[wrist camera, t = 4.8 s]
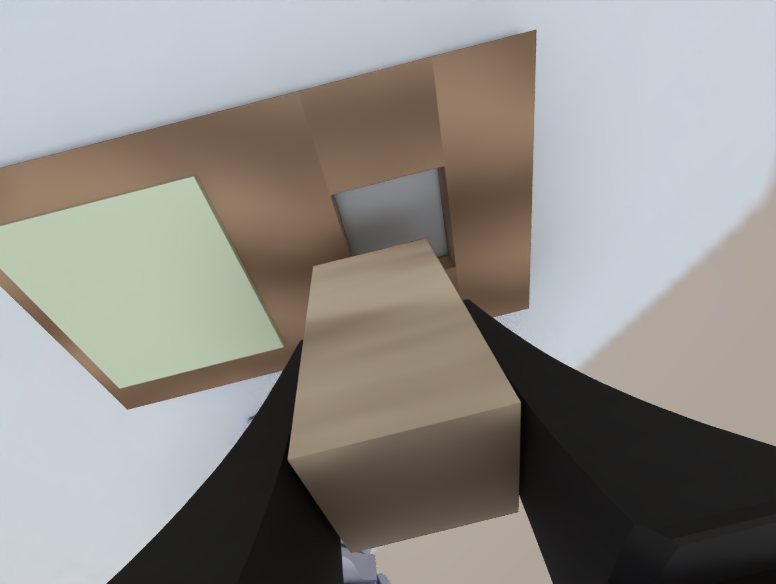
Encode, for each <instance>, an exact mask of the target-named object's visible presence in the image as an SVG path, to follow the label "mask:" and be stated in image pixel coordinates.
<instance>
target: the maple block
mask: <svg viewBox="0 0 776 584" xmlns="http://www.w3.org/2000/svg"><path fill="white" fill-rule="evenodd" d="M520 418H521V402H520V400H519V398H518V397H517V395H516V393H515V391H514V390H513V388H512V386H511V384H510V383H509V381H508V379H507V378H506V376H505V374H504V372H503V371H502V369H501V367H500V365H499V364H498V362H497V360H496V358H495V357H494V355H493V353H492V352H491V350H490V348H489V346H488V345H487V343H486V341H485V339H484V338H483V336H482V334H481V333H480V331H479V329H478V327H477V326H476V324H475V322H474V320H473V319H472V317H471V315H470V313H469V312H468V310H467V308H466V307H465V305H464V303H463V301H462V300H461V298H460V296H459V294H458V293H457V291H456V289H455V287H454V286H453V284H452V282H451V281H450V279H449V277H448V275H447V274H446V272H445V270H444V268H443V267H442V265H441V263H440V261H439V260H438V258H437V256H436V255H435V253H434V251H433V249H432V248H431V246H430V244H429V242H428V241H427V239H426V238H425V239H421V240H417V241H413V242H409V243H405V244H401V245H397V246H393V247H389V248H385V249H381V250H377V251H373V252H369V253H365V254H361V255H357V256H353V257H349V258H344V259H340V260H336V261H332V262H328V263H324V264H320V265H316V266H313V272H312V279H311V287H310V294H309V302H308V309H307V317H306V325H305V332H304V340H303V347H302V355H301V362H300V370H299V378H298V385H297V393H296V400H295V408H294V416H293V423H292V431H291V438H290V446H289V453H288V461H289V463H290V464H291V466H292V467H293V469H294V470H295V471H296V473H297V474H298V476H299V477H300V479H301V480H302V482H303V483H304V485H305V486H306V488H307V489H308V491H309V492H310V494H311V495H312V497H313V498H314V500H315V501H316V503H317V504H318V505H319V507H320V508H321V510H322V511H323V513H324V514H325V516H326V517H327V519H328V520H329V522H330V523H331V525H332V526H333V528H334V529H335V531H336V532H337V534H338V535H339V537H340V538H341V539H342V541H343V542H344V544H345V545H346V547H347V548H348V550H349V551H350V553H354V552H358V551H362V550H366V549H370V548H375V547H379V546H383V545H387V544H390V543H395V542H399V541H403V540H406V539H411V538H415V537H419V536H423V535H427V534H431V533H435V532H439V531H444V530H448V529H452V528H456V527H459V526H464V525H468V524H472V523H476V522H480V521H484V520H488V519H492V518H496V517H500V516H505V515H508V514H512V513H517V512H518V507H519V463H520Z"/></svg>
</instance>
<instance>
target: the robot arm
mask: <svg viewBox="0 0 776 584" xmlns="http://www.w3.org/2000/svg"><path fill="white" fill-rule="evenodd" d="M462 301H463V303H464V305H465V307H466V308H467V310H468V312H469V313H470V315H471V317H472V319H473V320H474V322H475V324H476V326H477V327H478V329H479V331H480V333H481V334H482V336H483V338H484V339H485V341H486V343H487V345H488V346H489V348H490V350H491V352H492V353H493V355H494V357H495V358H496V360H497V362H498V364H499V365H500V367H501V369H502V371H503V372H504V374H505V376H506V378H507V379H508V381H509V383H510V384H511V386H512V388H513V390H514V391H515V393H516V395H517V397H518V398H519V400H520V402H521V418H520V463H519V495H520V498H521V501H522V503H523V506H524V509H525V511H526V514H527V516H528V519H529V521H530V524H531V526H532V529H533V532H534V534H535V537H536V540H537V542H538V545H539V548H540V550H541V553H542V556H543V558H544V561H545V564H546V566H547V569H548V571H549V574H550V577H551V580H552V582H553V584H776V446H773V445H769V444H766V443H763V442H760V441H757V440H754V439H751V438H747V437H744V436H741V435H738V434H735V433H732V432H729V431H726V430H722V429H719V428H716V427H713V426H710V425H707V424H704V423H701V422H698V421H695V420H693V419H690V418H687V417H684V416H682V415H679V414H677V413H674V412H671V411H668V410H666V409H663V408H660V407H658V406H655V405H652V404H650V403H647V402H645V401H642V400H640V399H638V398H635V397H633V396H631V395H628V394H626V393H624V392H622V391H619V390H617V389H615V388H612V387H610V386H608V385H605V384H603V383H601V382H599V381H597V380H595V379H593V378H591V377H588V376H587V375H585V374H583V373H581V372H579V371H577V370H575V369H573V368H571V367H569V366H567V365H565V364H563V363H562V362H560V361H558V360H556V359H555V358H553V357H551V356H549V355H548V354H546V353H544V352H543V351H541V350H540V349H538V348H536V347H535V346H533V345H532V344H530V343H528V342H527V341H525V340H524V339H522V338H521V337H519V336H518V335H516V334H515V333H514V332H512V331H511V330H509V329H508V328H506V327H505V326H504V325H502V324H501V323H499V322H498V321H497V320H495V319H494V318H493V317H491V316H490V315H489V314H487V313H486V312H485V311H483V310H482V309H481V308H480V307H478V306H477V305H476V304H475V303H473V302H472V301H471V300H469V299H466V300H462ZM302 347H303V340H300V342H299V343H298V345H297V347H296V348H295V350H294V352H293V354H292V355H291V357H290V359H289V361H288V363H287V364H286V366H285V368H284V370H283V371H282V373H281V375H280V377H279V378H278V380H277V382H276V383H275V385H274V387H273V388H272V390H271V392H270V393H269V395H268V397H267V398H266V400H265V402H264V403H263V405H262V406H261V408H260V409H259V411H258V412H257V414H256V415H255V417H254V418H253V419H251V420H248V421H247V424H246V430H245V432H244V433H243V434H242V436H241V437H240V439H239V440H238V441H237V443H236V444H235V445H234V447H233V448H232V449H231V450H230V452H229V453H228V454H227V456H226V457H225V458H224V459H223V461H222V462H221V463H220V464H219V466H218V467H217V468H216V469H215V471H214V472H213V473H212V474H211V475H210V476H209V478H208V479H207V480H206V481H205V482H204V483H203V484H202V486H201V487H200V488H199V489H198V490H197V491H196V492H195V494H194V495H193V496H192V497H191V498H190V499H189V500H188V502H187V503H186V504H185V505H184V506H183V507H182V508H181V509H180V511H179V512H178V513H177V514H176V515H175V516H174V517H173V518H172V519H171V520H170V521H169V522H168V523H167V524H166V525H165V526H164V528H163V529H162V530H161V531H160V532H159V533H158V534H157V535H156V536H155V537H154V538H153V539H152V540H151V541H150V542H149V543H148V544H147V545H146V546H145V547H144V548H143V549H142V550H141V551H140V552H139V553H138V554H137V555H136V556H135V557H134V558H133V559H132V560H131V561H130V562H129V563H128V564H127V565H126V566H125V567H124V568H123V569H122V570H121V571H119V572H118V573H117V574H116V575H115V576H114V577H113V578H112V579H111V580H110V581H109V582H108V583H107V584H391V583H390V581H389V579H388V578H387V577H386V575H384V574H377V573H376V562H375V555H373V554H370V551H371V548H370V549H366V550H362V551H358V552H354V553H350V551H349V550H348V548H347V547H346V545H345V544H344V542H343V541H342V539H341V538H340V537H339V535H338V534H337V532H336V531H335V529H334V528H333V526H332V525H331V523H330V522H329V520H328V519H327V517H326V516H325V514H324V513H323V511H322V510H321V508H320V507H319V505H318V504H317V503H316V501H315V500H314V498H313V497H312V495H311V494H310V492H309V491H308V489H307V488H306V486H305V485H304V483H303V482H302V480H301V479H300V477H299V476H298V474H297V473H296V471H295V470H294V469H293V467H292V466H291V464H290V463H289V461H288V453H289V446H290V438H291V431H292V423H293V416H294V408H295V400H296V393H297V385H298V378H299V370H300V362H301V355H302Z"/></svg>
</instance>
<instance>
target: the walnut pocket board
mask: <svg viewBox="0 0 776 584" xmlns="http://www.w3.org/2000/svg"><path fill="white" fill-rule="evenodd" d="M535 64H536V30H533V31H529V32H525V33H521V34H517V35H514V36H510V37H506V38H502V39H498V40H494V41H490V42H486V43H483V44H479V45H475V46H471V47H467V48H463V49H459V50H456V51H452V52H448V53H444V54H440V55H436V56H432V57H428V58H425V59H421V60H417V61H413V62H409V63H405V64H401V65H397V66H394V67H390V68H386V69H382V70H378V71H374V72H370V73H367V74H363V75H359V76H355V77H351V78H347V79H343V80H339V81H336V82H332V83H328V84H324V85H320V86H316V87H312V88H308V89H305V90H301V91H297V92H293V93H289V94H285V95H281V96H278V97H274V98H270V99H266V100H262V101H258V102H254V103H250V104H247V105H243V106H239V107H235V108H231V109H227V110H223V111H219V112H216V113H212V114H208V115H204V116H200V117H196V118H192V119H188V120H185V121H181V122H177V123H173V124H169V125H165V126H161V127H158V128H154V129H150V130H146V131H142V132H138V133H134V134H130V135H127V136H123V137H119V138H115V139H111V140H107V141H103V142H99V143H96V144H92V145H88V146H84V147H80V148H76V149H72V150H69V151H65V152H61V153H57V154H53V155H49V156H45V157H41V158H38V159H34V160H30V161H26V162H22V163H18V164H14V165H10V166H7V167H3V168H0V225H3V224H7V223H11V222H15V221H19V220H22V219H26V218H30V217H34V216H38V215H42V214H46V213H50V212H54V211H57V210H61V209H65V208H69V207H73V206H77V205H81V204H85V203H89V202H92V201H96V200H100V199H104V198H108V197H112V196H116V195H120V194H124V193H127V192H131V191H135V190H139V189H143V188H147V187H151V186H155V185H159V184H162V183H166V182H170V181H174V180H178V179H182V178H186V177H190V176H194V175H197V177H198V179H199V181H200V183H201V185H202V187H203V189H204V191H205V192H206V194H207V196H208V198H209V200H210V202H211V204H212V206H213V208H214V210H215V212H216V214H217V215H218V217H219V219H220V221H221V223H222V225H223V227H224V229H225V231H226V233H227V235H228V237H229V238H230V240H231V242H232V244H233V246H234V248H235V250H236V252H237V254H238V256H239V258H240V260H241V261H242V263H243V265H244V267H245V269H246V271H247V273H248V275H249V277H250V279H251V281H252V283H253V284H254V286H255V288H256V290H257V292H258V294H259V296H260V298H261V300H262V302H263V304H264V306H265V307H266V309H267V311H268V313H269V315H270V317H271V319H272V321H273V323H274V325H275V327H276V329H277V330H278V332H279V334H280V336H281V338H282V340H283V342H284V347H282V348H278V349H274V350H270V351H266V352H262V353H258V354H254V355H251V356H247V357H243V358H239V359H235V360H231V361H227V362H223V363H219V364H215V365H211V366H207V367H203V368H199V369H195V370H191V371H187V372H183V373H179V374H175V375H171V376H168V377H164V378H160V379H156V380H152V381H148V382H144V383H140V384H136V385H132V386H128V387H124V388H120V389H119V388H118V387H117V386H116V385H115V384H114V383H113V382H112V381H111V380H110V379H109V378H108V377H107V375H106V374H105V373H104V372H103V371H102V370H101V369H100V368H99V367H98V366H97V365H96V364H95V363H94V362H93V361H92V360H91V359H90V358H89V357H88V356H87V355H86V354H85V353H84V352H83V351H82V350H81V349H80V348H79V347H78V346H77V345H76V344H75V343H74V342H73V341H72V340H71V339H70V338H69V337H68V336H67V335H66V334H65V333H64V332H63V331H62V330H61V329H60V328H59V327H58V326H57V325H56V324H55V323H54V322H53V321H52V320H51V319H50V318H49V317H48V316H47V315H46V314H45V313H44V312H43V311H42V310H41V309H40V308H39V307H38V306H37V305H36V304H35V303H34V302H33V301H32V300H31V299H30V298H29V297H28V296H27V295H26V294H25V293H24V292H23V291H22V290H21V289H20V288H19V287H18V286H17V285H16V284H15V283H14V282H13V281H12V280H11V279H10V278H9V277H8V276H7V275H6V274H5V273H4V272H3V271H2V270H1V269H0V286H1V287H2V288H3V289H4V290H5V291H6V292H7V293H8V294H9V295H10V296H11V297H12V298H13V299H14V300H15V301H16V302H17V303H18V304H19V305H20V306H22V307H23V308H24V309H25V310H26V311H27V312H28V313H29V314H30V315H31V316H32V317H33V318H34V319H35V320H36V321H37V322H38V323H39V324H40V325H41V326H42V327H43V328H44V329H45V330H46V331H47V332H48V333H49V334H50V335H51V336H52V337H53V338H54V339H55V340H56V341H58V342H59V343H60V344H61V345H62V346H63V347H64V348H65V349H66V350H67V351H68V352H69V353H70V354H71V355H72V356H73V357H74V358H75V359H76V360H77V361H78V362H79V363H80V364H81V365H82V366H83V367H84V368H85V369H86V370H87V371H88V372H89V373H90V374H91V375H92V376H93V377H95V378H96V379H97V380H98V381H99V382H100V383H101V384H102V385H103V386H104V387H105V388H106V389H107V390H108V391H109V392H110V393H111V394H112V395H113V396H114V397H115V398H116V399H117V400H118V401H119V402H120V403H121V404H122V405H123V406H124V407H125V408H126V409H127V410H128V409H132V408H136V407H140V406H144V405H148V404H152V403H156V402H160V401H164V400H168V399H171V398H175V397H179V396H183V395H187V394H191V393H195V392H199V391H203V390H207V389H211V388H215V387H219V386H223V385H227V384H231V383H235V382H239V381H243V380H247V379H251V378H255V377H259V376H263V375H266V374H270V373H274V372H278V371H282V370H284V368H285V366H286V364H287V363H288V361H289V359H290V357H291V355H292V354H293V352H294V350H295V348H296V347H297V345H298V343H299V342H300V340H304V332H305V325H306V317H307V309H308V302H309V294H310V287H311V279H312V272H313V266H316V265H320V264H324V263H328V262H332V261H336V260H340V259H344V258H349V257H352V254H351V251H350V248H349V244H348V241H347V238H346V235H345V231H344V228H343V225H342V222H341V219H340V215H339V212H338V209H337V206H336V202H335V199H334V196H333V194H337V193H341V192H345V191H349V190H353V189H357V188H361V187H365V186H368V185H372V184H376V183H380V182H384V181H388V180H392V179H396V178H400V177H404V176H407V175H411V174H415V173H419V172H423V171H427V170H431V169H435V168H438V175H439V183H440V191H441V199H442V207H443V215H444V223H445V231H446V239H447V247H448V254H449V255H447V256H443V257H439V258H438V260H439V261H440V263H441V265H442V267H443V268H444V270H445V272H446V274H447V275H448V277H449V279H450V281H451V282H452V284H453V286H454V287H455V289H456V291H457V293H458V294H459V296H460V298H461V300H466V299H469V300H471V301H472V302H473V303H475V304H476V305H477V306H478V307H480V308H481V309H482V310H483V311H485V312H486V313H487V314H489V315H490V316H491V317H496V316H500V315H504V314H508V313H512V312H516V311H520V310H524V309H528V308H529V287H530V250H531V213H532V176H533V139H534V101H535Z"/></svg>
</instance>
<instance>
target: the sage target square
mask: <svg viewBox="0 0 776 584" xmlns="http://www.w3.org/2000/svg"><path fill="white" fill-rule="evenodd" d="M0 269H1V270H2V271H3V272H4V273H5V274H6V275H7V276H8V277H9V278H10V279H11V280H12V281H13V282H14V283H15V284H16V285H17V286H18V287H19V288H20V289H21V290H22V291H23V292H24V293H25V294H26V295H27V296H28V297H29V298H30V299H31V300H32V301H33V302H34V303H35V304H36V305H37V306H38V307H39V308H40V309H41V310H42V311H43V312H44V313H45V314H46V315H47V316H48V317H49V318H50V319H51V320H52V321H53V322H54V323H55V324H56V325H57V326H58V327H59V328H60V329H61V330H62V331H63V332H64V333H65V334H66V335H67V336H68V337H69V338H70V339H71V340H72V341H73V342H74V343H75V344H76V345H77V346H78V347H79V348H80V349H81V350H82V351H83V352H84V353H85V354H86V355H87V356H88V357H89V358H90V359H91V360H92V361H93V362H94V363H95V364H96V365H97V366H98V367H99V368H100V369H101V370H102V371H103V372H104V373H105V374H106V375H107V377H108V378H109V379H110V380H111V381H112V382H113V383H114V384H115V385H116V386H117V387H118V388H119V389H120V388H124V387H128V386H132V385H136V384H140V383H144V382H148V381H152V380H156V379H160V378H164V377H168V376H171V375H175V374H179V373H183V372H187V371H191V370H195V369H199V368H203V367H207V366H211V365H215V364H219V363H223V362H227V361H231V360H235V359H239V358H243V357H247V356H251V355H254V354H258V353H262V352H266V351H270V350H274V349H278V348H282V347H284V342H283V340H282V338H281V336H280V334H279V332H278V330H277V329H276V327H275V325H274V323H273V321H272V319H271V317H270V315H269V313H268V311H267V309H266V307H265V306H264V304H263V302H262V300H261V298H260V296H259V294H258V292H257V290H256V288H255V286H254V284H253V283H252V281H251V279H250V277H249V275H248V273H247V271H246V269H245V267H244V265H243V263H242V261H241V260H240V258H239V256H238V254H237V252H236V250H235V248H234V246H233V244H232V242H231V240H230V238H229V237H228V235H227V233H226V231H225V229H224V227H223V225H222V223H221V221H220V219H219V217H218V215H217V214H216V212H215V210H214V208H213V206H212V204H211V202H210V200H209V198H208V196H207V194H206V192H205V191H204V189H203V187H202V185H201V183H200V181H199V179H198V177H197V175H194V176H190V177H186V178H182V179H178V180H174V181H170V182H166V183H162V184H159V185H155V186H151V187H147V188H143V189H139V190H135V191H131V192H127V193H124V194H120V195H116V196H112V197H108V198H104V199H100V200H96V201H92V202H89V203H85V204H81V205H77V206H73V207H69V208H65V209H61V210H57V211H54V212H50V213H46V214H42V215H38V216H34V217H30V218H26V219H22V220H19V221H15V222H11V223H7V224H3V225H0Z"/></svg>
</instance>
